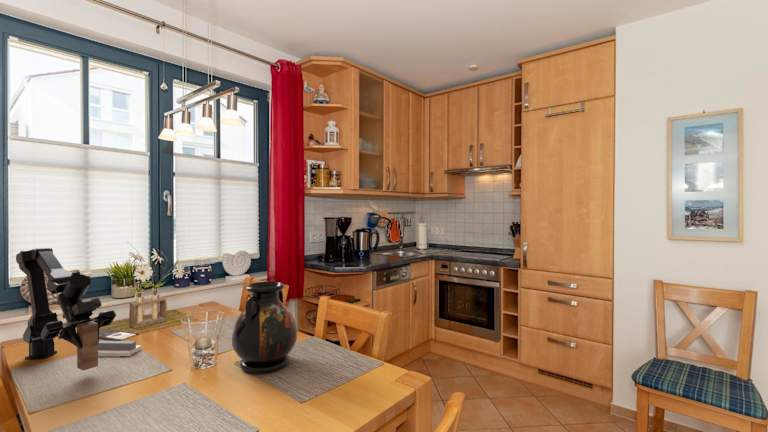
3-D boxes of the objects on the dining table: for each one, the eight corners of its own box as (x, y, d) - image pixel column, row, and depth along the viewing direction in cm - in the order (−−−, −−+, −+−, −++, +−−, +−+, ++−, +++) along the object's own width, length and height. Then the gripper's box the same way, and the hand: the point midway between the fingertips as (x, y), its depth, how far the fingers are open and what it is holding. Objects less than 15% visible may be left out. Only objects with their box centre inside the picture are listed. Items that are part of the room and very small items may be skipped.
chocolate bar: (108, 328, 165) (138, 333, 160) (108, 330, 165) (138, 335, 160) (86, 335, 157) (118, 340, 151) (86, 337, 157) (118, 342, 151)
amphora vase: (272, 383, 116) (272, 293, 115) (217, 373, 123) (217, 288, 122) (308, 357, 136) (308, 281, 136) (259, 349, 143) (259, 277, 143)
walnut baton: (77, 367, 119) (76, 324, 119) (91, 363, 123) (91, 321, 122) (83, 370, 117) (83, 326, 117) (98, 365, 121) (97, 322, 120)
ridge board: (79, 356, 136) (79, 345, 136) (94, 348, 143) (94, 338, 143) (128, 356, 136) (128, 345, 136) (141, 349, 143) (141, 338, 143)
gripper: (44, 297, 113) (61, 340, 108) (113, 286, 129) (130, 323, 124) (33, 319, 117) (49, 361, 112) (101, 305, 133) (118, 342, 128)
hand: (89, 345), depth 119 cm, fingers closed on walnut baton, 4 cm apart
